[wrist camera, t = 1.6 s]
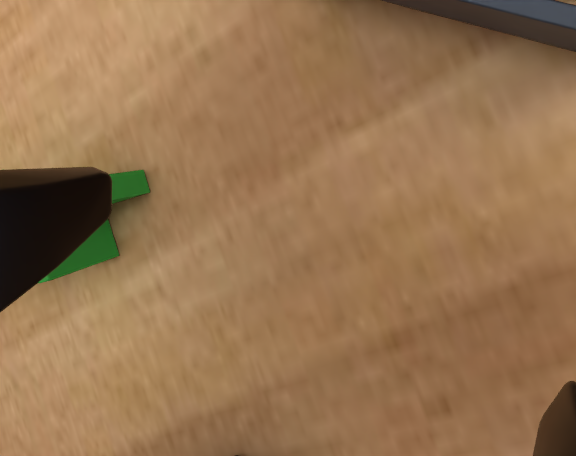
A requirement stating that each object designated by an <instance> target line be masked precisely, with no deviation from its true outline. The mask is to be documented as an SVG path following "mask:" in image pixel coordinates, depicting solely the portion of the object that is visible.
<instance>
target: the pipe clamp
mask: <svg viewBox="0 0 576 456" xmlns="http://www.w3.org/2000/svg"><path fill="white" fill-rule="evenodd" d="M109 175H110V176H111V179H112V204H114V203H117V202H120V201H123V200H127V199H130V198H133V197H137V196H140V195H143V194H146V193H150V190H149V187H148V183H147V180H146V177H145V173H144V170H138V171H130V172H123V173H115V174H109ZM117 256H119V253H118V249H117V246H116V243H115V240H114V237H113V233H112V230H111V227H110V224H109V221H108V219H107V220H106V222H105V223H103V224H102V225H101V226H100V227H99V228H98V229H97V230H96V231H95V232H94V233H93V234H92V235H91V236H90V237H89V238H88V239H87V240H86V241H85V242H84V243H83V244H82V245H80V246H79V247H78V248H77V249H76V250H75V251H74V252H73V253H72V254H71V255H70V256H69V257H68V258H67V259H66V260H65V261H64V262H63V263H61V264H60V265H59V266H58V267H57V268H56V269H55V270H53V271H52V272H51V273H50V274H48V275H47V276H46V277H45V278H43V279H42V280H41V281H40V282H38V283H42V282H46V281H50V280H53V279H55V278H58V277H61V276H64V275H67V274H70V273H72V272H75V271H78V270H81V269H84V268H86V267H89V266H92V265H95V264H98V263H100V262H103V261H106V260H109V259H112V258H114V257H117Z"/></svg>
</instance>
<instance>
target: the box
mask: <svg viewBox="0 0 576 456" xmlns="http://www.w3.org/2000/svg"><path fill="white" fill-rule="evenodd" d="M382 1H386V2H389V3H393V4H397V5H401V6H405V7H408V8H412V9H416V10H420V11H423V12H427V13H431V14H435V15H439V16H442V17H446V18H450V19H454V20H457V21H461V22H465V23H469V24H473V25H476V26H480V27H484V28H488V29H491V30H495V31H499V32H503V33H507V34H510V35H514V36H518V37H522V38H525V39H529V40H533V41H537V42H541V43H544V44H548V45H552V46H556V47H559V48H563V49H567V50H571V51H575V52H576V6H575V5H571V4H567V3H563V2H559V1H555V0H382Z"/></svg>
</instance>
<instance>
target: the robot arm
mask: <svg viewBox="0 0 576 456" xmlns="http://www.w3.org/2000/svg"><path fill="white" fill-rule="evenodd" d="M111 211H112V179H111V176H110V175H109V174H108V173H106V172H103V171H101V170H99V169H97V168H94V167H73V168H44V169H16V170H0V312H1V311H3V310H4V309H5V308H6V307H8V306H9V305H10V304H12V303H13V302H14V301H15V300H17V299H18V298H19V297H20V296H22V295H23V294H24V293H26V292H27V291H28V290H29V289H31V288H32V287H33V286H34V285H36V284H37V283H38V282H40V281H41V280H42V279H43V278H45V277H46V276H47V275H48V274H50V273H51V272H52V271H53V270H55V269H56V268H57V267H58V266H59V265H60V264H61V263H63V262H64V261H65V260H66V259H67V258H68V257H69V256H70V255H71V254H72V253H73V252H74V251H75V250H76V249H77V248H78V247H79V246H80V245H82V244H83V243H84V242H85V241H86V240H87V239H88V238H89V237H90V236H91V235H92V234H93V233H94V232H95V231H96V230H97V229H98V228H99V227H100V226H101V225H102V224H103V223H105V222H106V220H107V219H108V218H109V216H110V214H111ZM236 456H238V455H236ZM533 456H576V382H575V381H570V382H567V383H566V384H565V385H564V386H563V387H562V389H561V390H560V392H559V393H558V395H557V396H556V397H555V399H554V400H553V402H552V403H551V405H550V406H549V407H548V409H547V410H546V412H545V413H544V415H543V417H542V419H541V421H540V424H539V428H538V432H537V437H536V442H535V447H534V452H533Z"/></svg>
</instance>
